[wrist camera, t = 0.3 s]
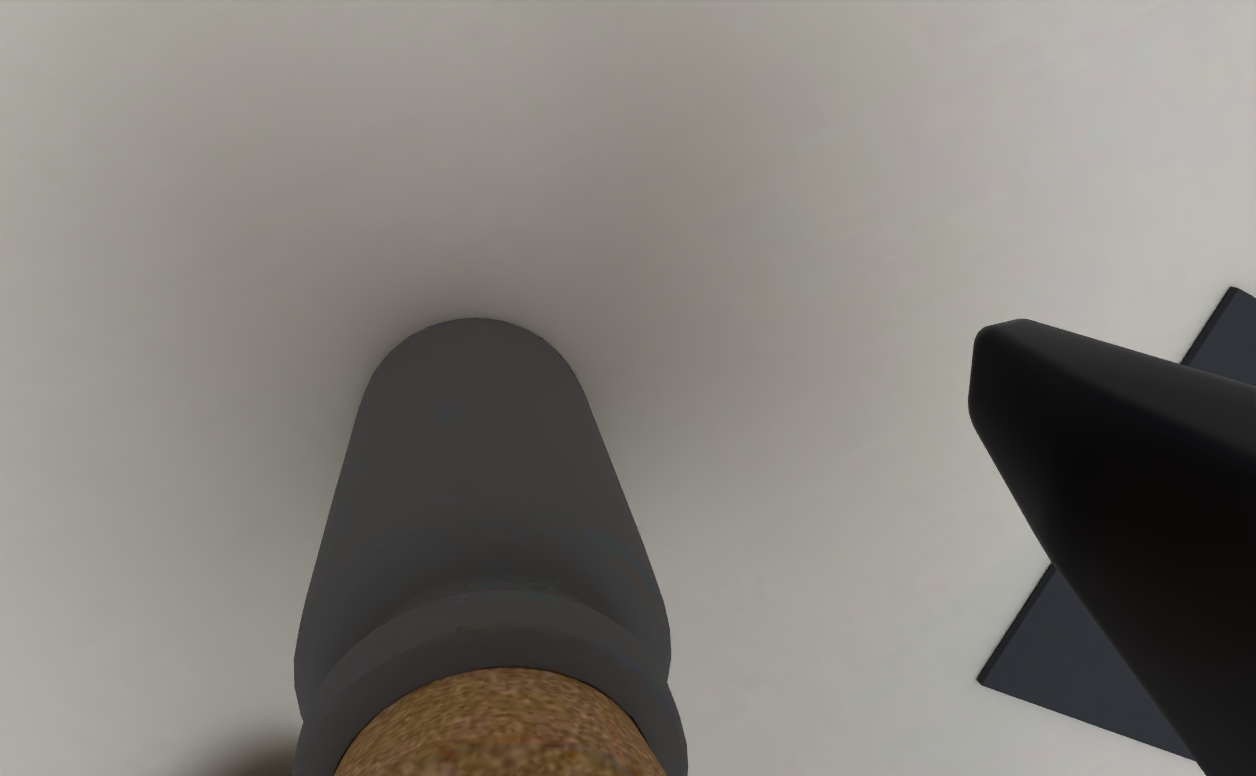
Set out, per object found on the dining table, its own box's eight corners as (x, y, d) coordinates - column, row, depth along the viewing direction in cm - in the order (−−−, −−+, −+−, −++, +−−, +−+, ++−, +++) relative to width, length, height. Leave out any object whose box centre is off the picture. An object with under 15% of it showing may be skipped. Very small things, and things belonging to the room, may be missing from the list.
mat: (1237, 772, 33) (1244, 778, 33) (976, 679, 30) (981, 685, 30) (1490, 434, 30) (1500, 437, 30) (1230, 285, 27) (1239, 288, 27)
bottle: (309, 396, 23) (90, 904, 9) (509, 270, 23) (589, 593, 9) (445, 565, 25) (433, 1183, 11) (628, 450, 25) (844, 935, 11)
